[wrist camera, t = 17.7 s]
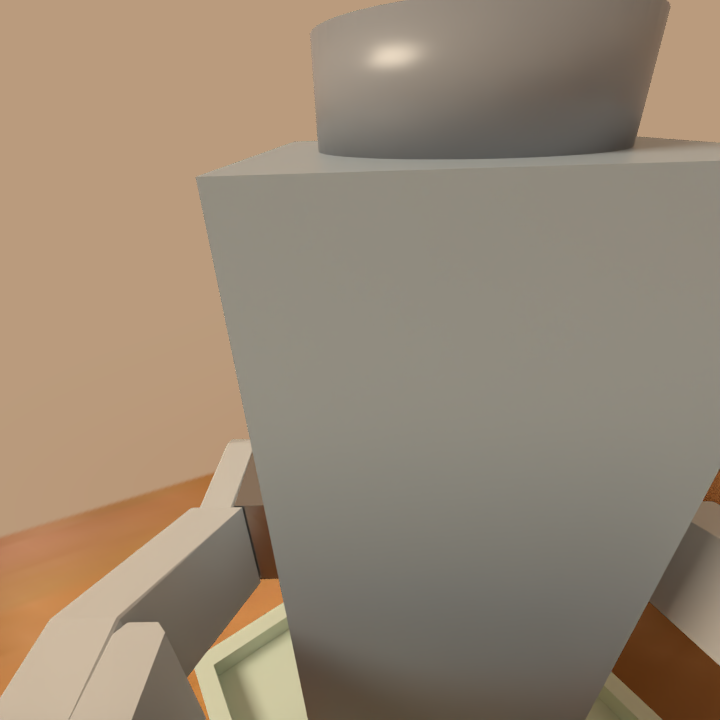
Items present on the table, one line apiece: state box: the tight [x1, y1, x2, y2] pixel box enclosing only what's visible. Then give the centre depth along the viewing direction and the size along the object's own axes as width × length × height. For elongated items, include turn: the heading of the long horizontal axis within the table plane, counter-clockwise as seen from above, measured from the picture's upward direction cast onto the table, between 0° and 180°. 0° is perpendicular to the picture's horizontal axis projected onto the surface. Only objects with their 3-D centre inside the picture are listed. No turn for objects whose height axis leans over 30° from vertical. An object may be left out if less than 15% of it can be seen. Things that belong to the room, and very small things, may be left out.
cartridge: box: [196, 0, 720, 720], centre depth 7 cm, size 4×4×13 cm
